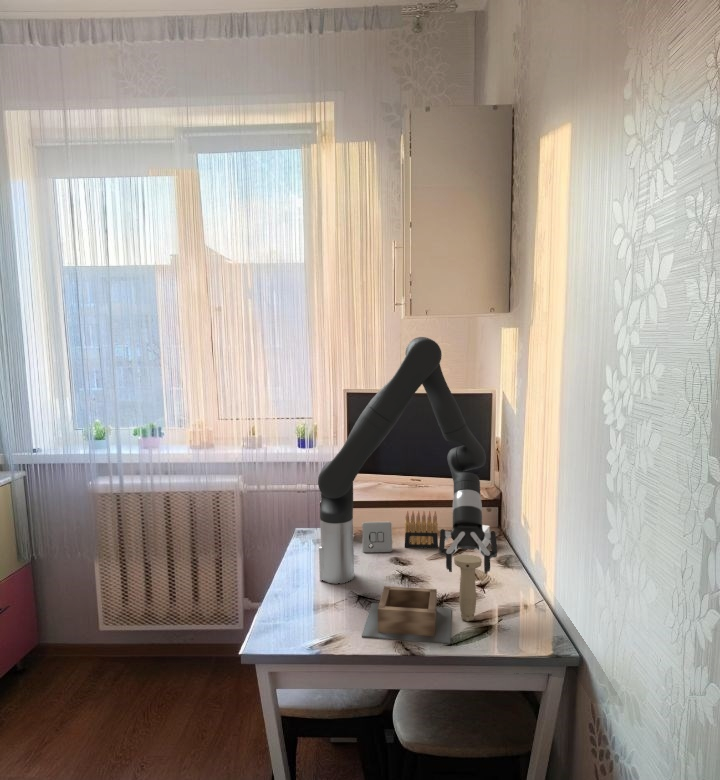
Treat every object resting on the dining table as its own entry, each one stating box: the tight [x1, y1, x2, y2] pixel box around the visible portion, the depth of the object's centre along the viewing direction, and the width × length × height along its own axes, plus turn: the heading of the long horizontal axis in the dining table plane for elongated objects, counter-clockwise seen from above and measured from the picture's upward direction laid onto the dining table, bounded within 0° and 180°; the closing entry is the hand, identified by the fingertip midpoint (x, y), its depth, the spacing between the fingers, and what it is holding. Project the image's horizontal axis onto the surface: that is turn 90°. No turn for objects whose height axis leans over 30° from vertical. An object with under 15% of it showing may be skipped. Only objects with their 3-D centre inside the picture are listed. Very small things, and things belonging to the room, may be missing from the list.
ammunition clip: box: [404, 510, 439, 549], centre depth 187 cm, size 11×2×12 cm, turn 85°
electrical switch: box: [361, 521, 393, 553], centre depth 186 cm, size 9×5×9 cm, turn 90°
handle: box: [453, 554, 482, 622], centre depth 140 cm, size 5×6×15 cm
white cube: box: [482, 524, 491, 548], centre depth 188 cm, size 6×6×6 cm
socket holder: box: [361, 585, 452, 645], centre depth 139 cm, size 20×16×6 cm
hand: (468, 571), depth 142 cm, fingers open, 8 cm apart
